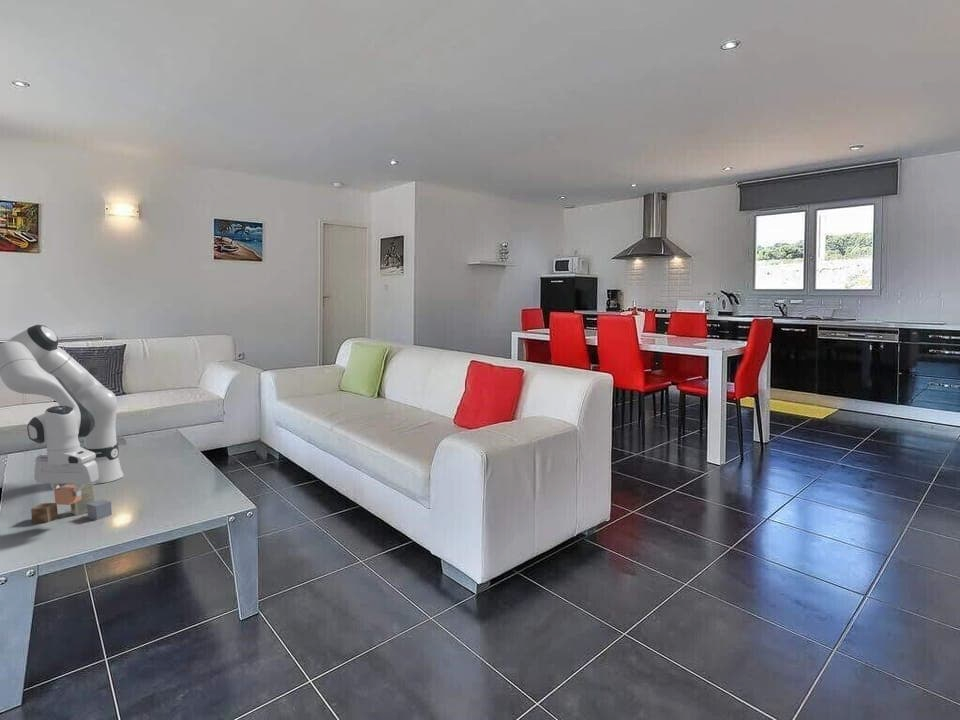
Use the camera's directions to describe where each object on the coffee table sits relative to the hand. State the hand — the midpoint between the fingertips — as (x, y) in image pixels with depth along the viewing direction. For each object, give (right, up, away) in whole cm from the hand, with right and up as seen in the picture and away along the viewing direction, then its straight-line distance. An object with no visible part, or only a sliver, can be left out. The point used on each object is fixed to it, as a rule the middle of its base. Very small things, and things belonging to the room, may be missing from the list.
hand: (68, 495), depth 184 cm
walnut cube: (-11, -10, +5) cm, 16 cm away
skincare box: (-4, -9, +12) cm, 15 cm away
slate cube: (+5, -9, +8) cm, 13 cm away
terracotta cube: (0, -2, 0) cm, 2 cm away
